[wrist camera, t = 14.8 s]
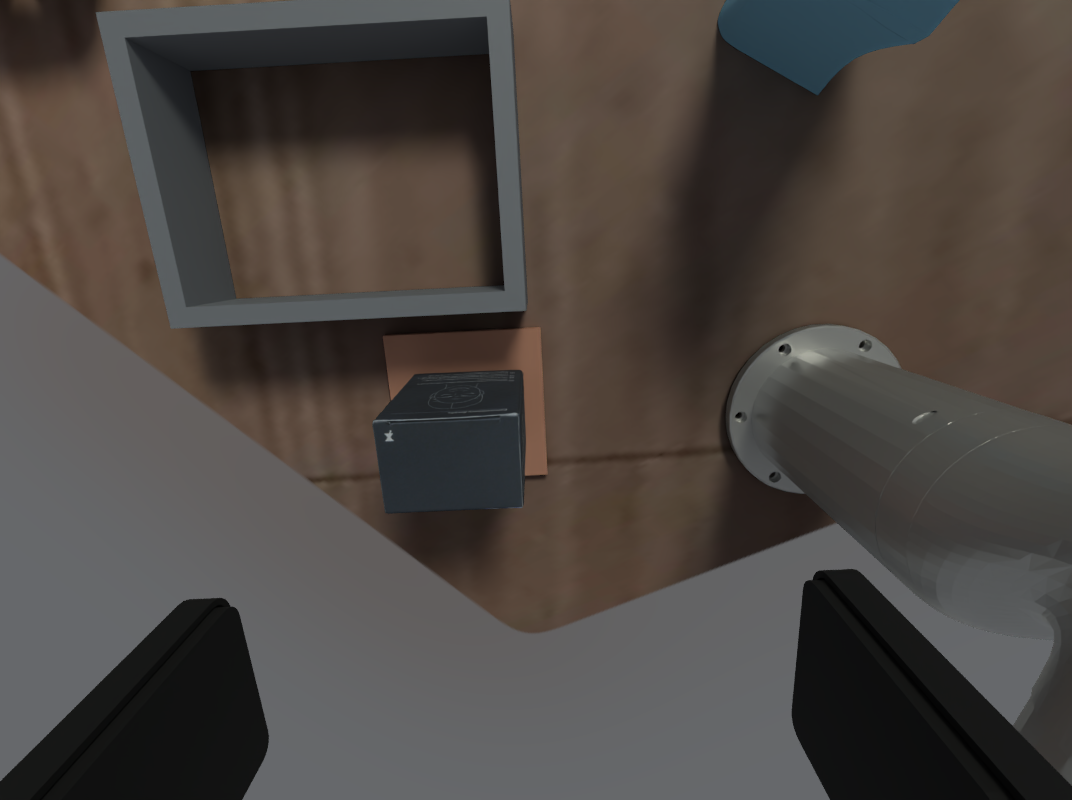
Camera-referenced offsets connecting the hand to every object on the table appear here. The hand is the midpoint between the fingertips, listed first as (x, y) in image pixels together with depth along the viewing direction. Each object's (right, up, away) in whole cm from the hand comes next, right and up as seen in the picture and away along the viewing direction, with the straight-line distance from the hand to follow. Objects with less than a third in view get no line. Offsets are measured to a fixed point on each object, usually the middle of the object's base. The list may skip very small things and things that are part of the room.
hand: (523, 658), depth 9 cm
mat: (-5, +4, +30) cm, 31 cm away
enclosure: (-11, +18, +26) cm, 34 cm away
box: (-4, +4, +30) cm, 30 cm away
